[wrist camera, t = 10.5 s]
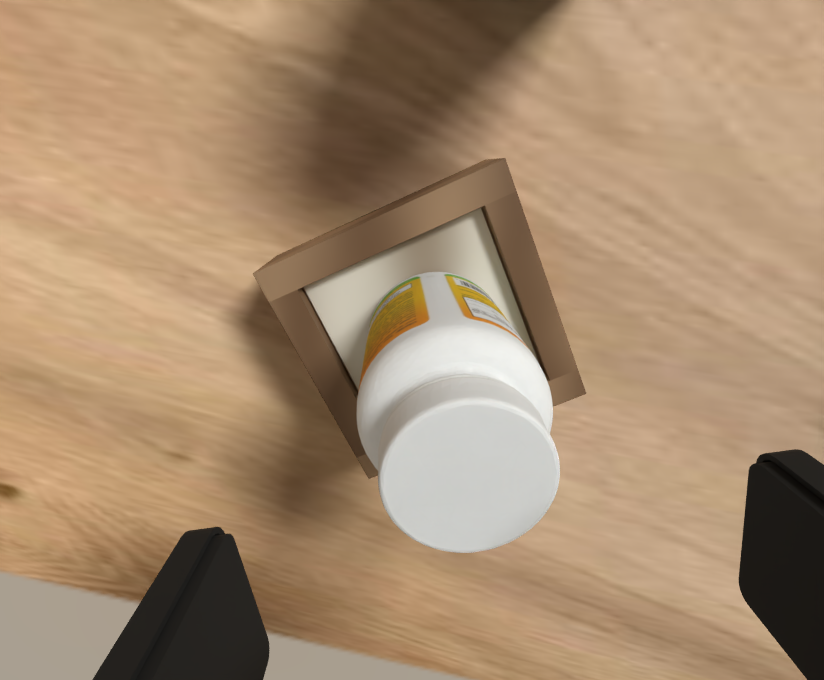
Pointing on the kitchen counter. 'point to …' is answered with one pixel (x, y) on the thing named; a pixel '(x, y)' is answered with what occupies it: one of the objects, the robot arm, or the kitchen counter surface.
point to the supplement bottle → (455, 417)
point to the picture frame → (408, 256)
